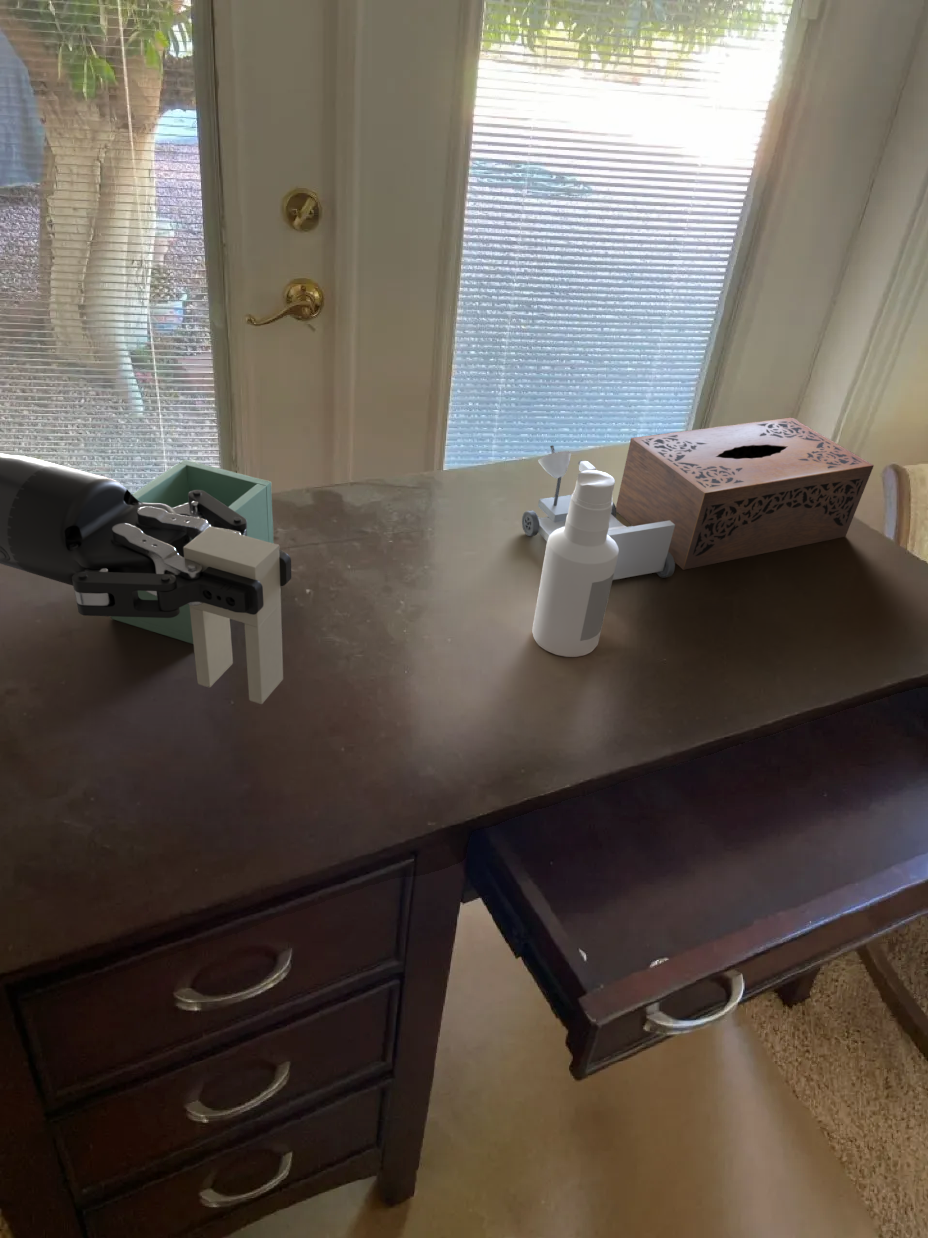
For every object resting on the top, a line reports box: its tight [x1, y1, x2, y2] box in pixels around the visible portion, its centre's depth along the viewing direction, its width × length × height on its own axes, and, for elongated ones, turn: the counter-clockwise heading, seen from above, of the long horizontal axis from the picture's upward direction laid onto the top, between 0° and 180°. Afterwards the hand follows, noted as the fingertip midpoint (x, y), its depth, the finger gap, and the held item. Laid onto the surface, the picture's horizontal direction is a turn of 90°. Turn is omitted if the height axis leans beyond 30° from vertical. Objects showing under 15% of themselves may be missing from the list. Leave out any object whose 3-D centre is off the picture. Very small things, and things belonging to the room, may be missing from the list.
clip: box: [183, 526, 284, 705], centre depth 58 cm, size 5×3×11 cm, turn 71°
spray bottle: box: [531, 469, 619, 658], centre depth 85 cm, size 7×7×18 cm
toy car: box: [521, 444, 676, 581], centre depth 102 cm, size 18×10×12 cm
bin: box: [110, 458, 275, 645], centre depth 87 cm, size 14×10×11 cm
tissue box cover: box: [615, 416, 875, 571], centre depth 110 cm, size 26×14×10 cm, turn 115°
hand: (273, 584), depth 56 cm, fingers closed on clip, 3 cm apart
